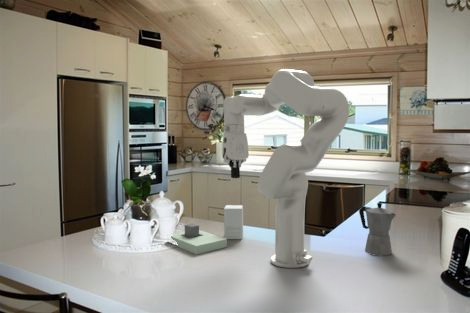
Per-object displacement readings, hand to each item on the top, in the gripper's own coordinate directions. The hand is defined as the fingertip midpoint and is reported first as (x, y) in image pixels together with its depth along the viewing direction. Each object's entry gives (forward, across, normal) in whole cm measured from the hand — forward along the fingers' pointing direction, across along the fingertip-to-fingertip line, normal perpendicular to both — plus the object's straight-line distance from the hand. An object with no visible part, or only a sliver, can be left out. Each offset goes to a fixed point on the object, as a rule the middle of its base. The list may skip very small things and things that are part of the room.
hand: (235, 177), depth 158 cm
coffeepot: (+27, +31, -41) cm, 58 cm away
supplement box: (+26, +6, +8) cm, 28 cm away
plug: (+25, -12, +13) cm, 31 cm away
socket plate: (+25, -12, +10) cm, 30 cm away
